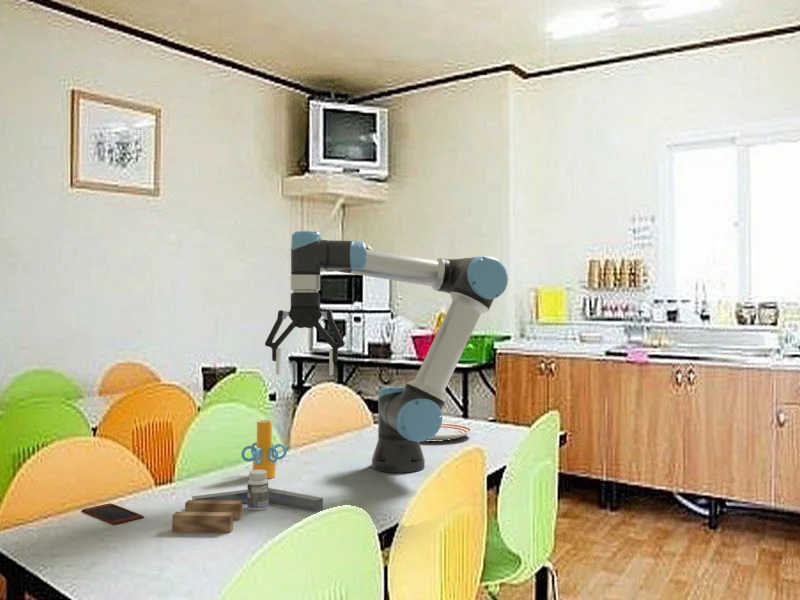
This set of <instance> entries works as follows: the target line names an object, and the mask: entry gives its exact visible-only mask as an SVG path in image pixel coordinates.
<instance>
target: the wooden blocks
mask: <svg viewBox="0 0 800 600" xmlns="http://www.w3.org/2000/svg"><path fill="white" fill-rule="evenodd" d="M171 517H172V520H171V522H172V526H171V527H172V528H171V529H172V533H203V534H205V533H209V534H210V533H211V534H212V533H213V534H215V533H216V534H222V533H223V534H230V533H231V532H232V531H233V529H234V521H240V520H241V519H242V518H243V504H242V501H227V500H192V499H188V500H187V501H186V502H185V503H184V511H175V512H174V513H173V514H172V515H171Z"/></svg>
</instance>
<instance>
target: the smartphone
mask: <svg viewBox="0 0 800 600" xmlns="http://www.w3.org/2000/svg"><path fill="white" fill-rule="evenodd" d="M81 513H84V514H86V515H87V516H91V517H92V518H95V517H96V519H98V520H101V521H103V522H105V523H108V524H110V525H113V526H118V525H121V524H126V523H130V522H131V523H132V522H135V521H139V520H142V519H145V516H144V515H142V514H140V513H137V512H135V511H133V510H130V509H127V508H124V507H122V506H119V505H116V504H114V503H111V502H109V503H104V504H100V505H94V506H90V507H86V508H83V509H81Z"/></svg>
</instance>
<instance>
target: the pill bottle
mask: <svg viewBox="0 0 800 600" xmlns="http://www.w3.org/2000/svg"><path fill="white" fill-rule="evenodd" d="M248 473H249V474H248V478H249V480H247V489H248V503H247V509H248V510H250V511H264V510H267V509H268V507H269V502H268V488H269V479H266V478H267V471H265V470H253V469H252V470H249V472H248Z"/></svg>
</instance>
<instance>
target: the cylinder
mask: <svg viewBox="0 0 800 600" xmlns="http://www.w3.org/2000/svg"><path fill="white" fill-rule="evenodd" d="M277 448H282V449H283V453H282V455H280V456H279V451H278V449H277ZM249 449H250V453H251V455H252V457H251V458H248V457H246V456H245V452H246V451H247V450H249ZM287 451H288V449H287V447H286V445H284V444H283V443H276V444H275V445H274V443H273V420H271V419H270V420H269V419H260V420H256V442H253V443H252V444H251V445H246V446H245V447H244V448H242V451H241V458H242V460H244V461H245V462H252V470H265V471H267V478H266V479H267V480H269V479H273V478H275V476H276V464H277V462H278V460H282V459H284V458H285V457H286V455H287Z"/></svg>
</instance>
